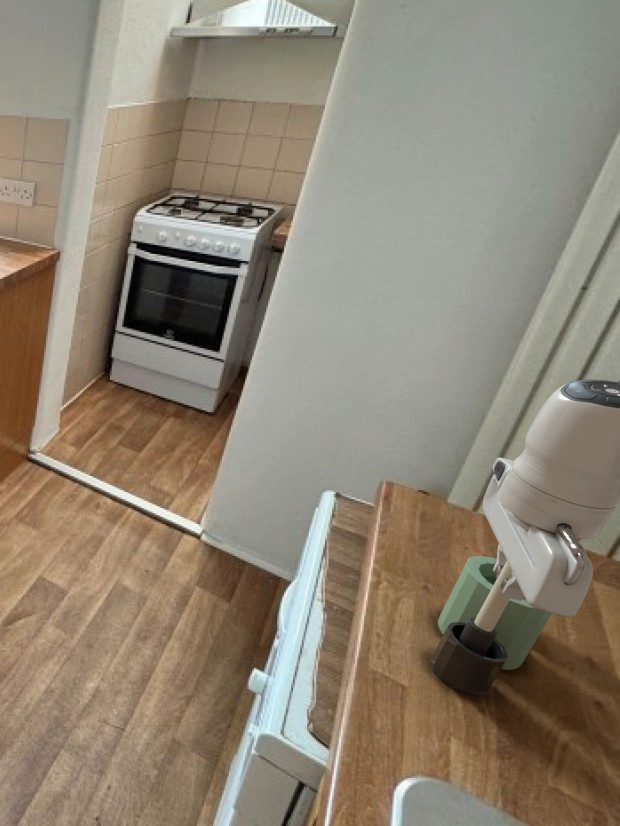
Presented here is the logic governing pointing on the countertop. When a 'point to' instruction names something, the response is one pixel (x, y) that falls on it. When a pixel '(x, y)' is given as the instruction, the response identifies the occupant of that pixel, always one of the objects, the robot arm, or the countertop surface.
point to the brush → (486, 618)
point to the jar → (514, 623)
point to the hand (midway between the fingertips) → (505, 586)
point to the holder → (466, 663)
